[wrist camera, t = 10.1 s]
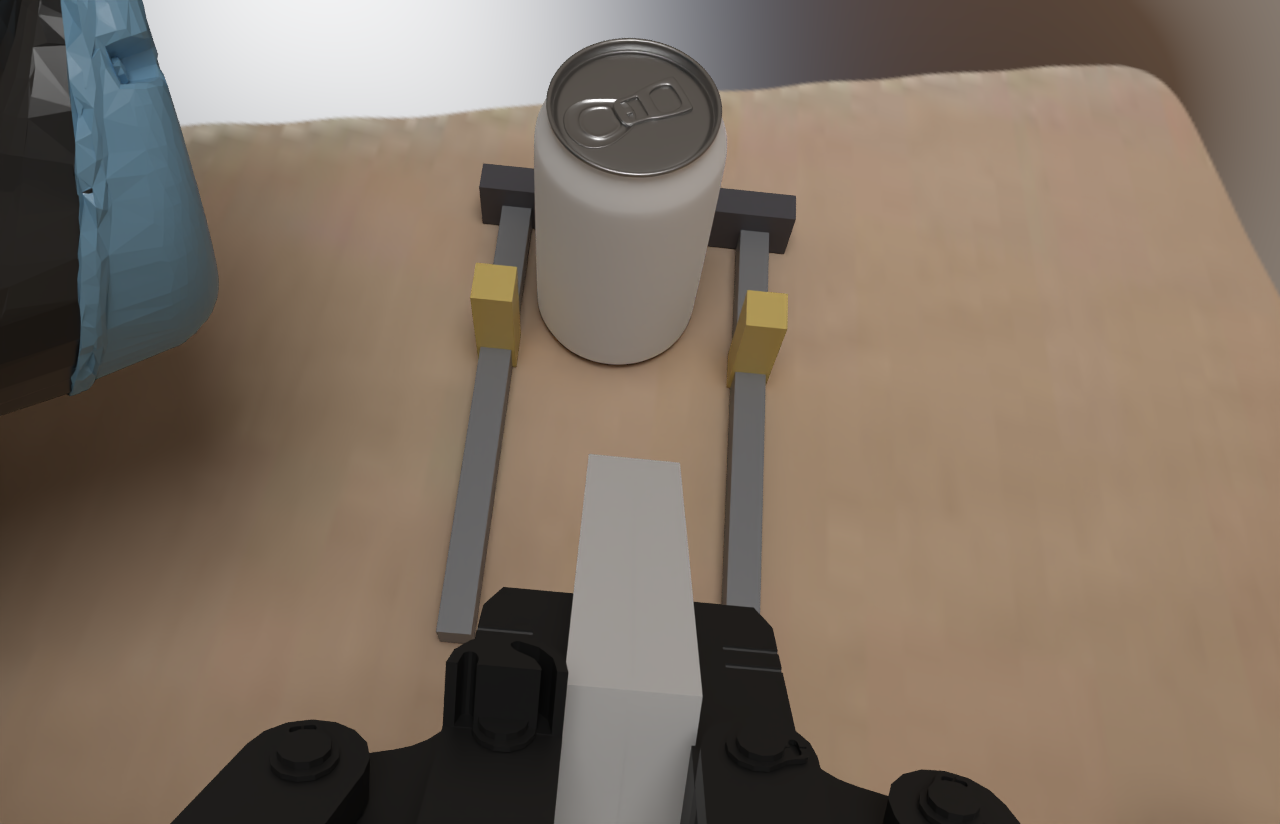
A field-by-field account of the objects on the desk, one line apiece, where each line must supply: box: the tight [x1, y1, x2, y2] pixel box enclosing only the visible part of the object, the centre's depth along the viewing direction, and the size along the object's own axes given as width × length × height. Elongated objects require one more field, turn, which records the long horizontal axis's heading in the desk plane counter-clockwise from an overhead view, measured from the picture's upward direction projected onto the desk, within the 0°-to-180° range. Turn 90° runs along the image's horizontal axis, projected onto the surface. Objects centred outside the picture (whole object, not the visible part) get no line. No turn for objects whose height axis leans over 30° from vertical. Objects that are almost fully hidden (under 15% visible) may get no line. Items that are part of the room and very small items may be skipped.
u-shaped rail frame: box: [436, 164, 796, 643], centre depth 41 cm, size 13×19×5 cm
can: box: [534, 38, 727, 364], centre depth 40 cm, size 6×6×12 cm
